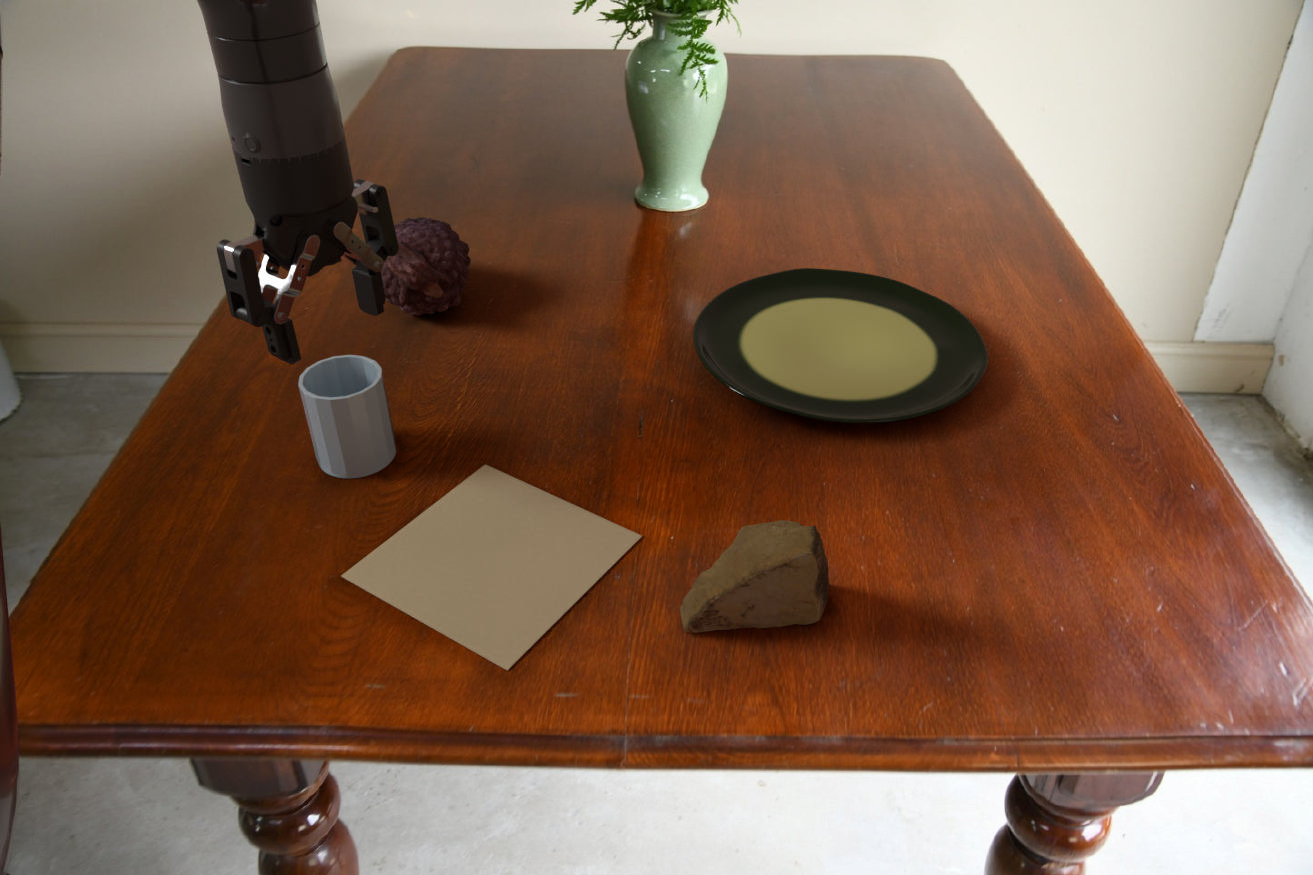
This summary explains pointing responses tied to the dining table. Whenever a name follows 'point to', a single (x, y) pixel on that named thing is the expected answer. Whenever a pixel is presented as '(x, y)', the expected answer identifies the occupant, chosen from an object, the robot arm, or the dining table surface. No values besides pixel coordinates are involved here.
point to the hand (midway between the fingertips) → (331, 335)
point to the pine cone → (426, 267)
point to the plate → (840, 346)
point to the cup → (348, 415)
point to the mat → (493, 563)
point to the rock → (761, 581)
